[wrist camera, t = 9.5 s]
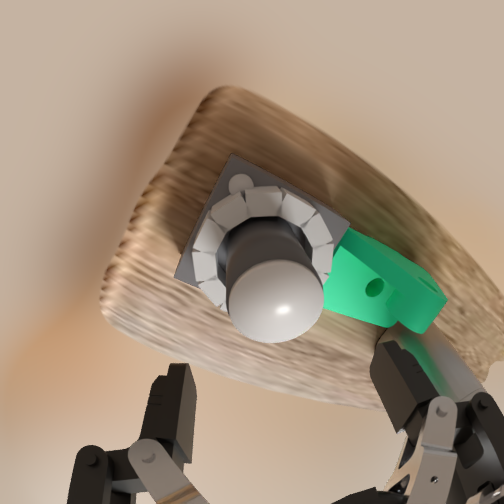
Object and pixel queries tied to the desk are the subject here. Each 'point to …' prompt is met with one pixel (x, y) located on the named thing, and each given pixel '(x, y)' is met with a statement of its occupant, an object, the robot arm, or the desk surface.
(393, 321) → the camera mount
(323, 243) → the segmented ring socket plate
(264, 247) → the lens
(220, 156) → the desk surface
